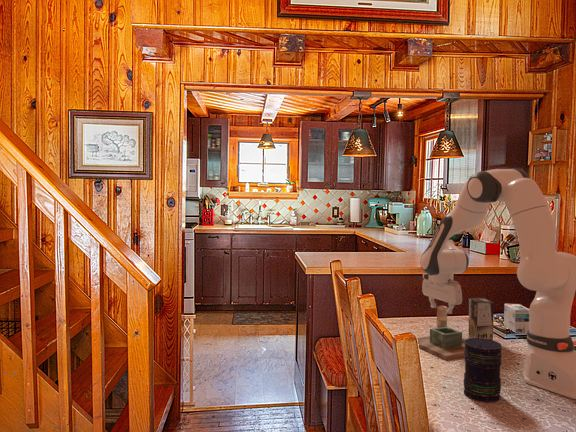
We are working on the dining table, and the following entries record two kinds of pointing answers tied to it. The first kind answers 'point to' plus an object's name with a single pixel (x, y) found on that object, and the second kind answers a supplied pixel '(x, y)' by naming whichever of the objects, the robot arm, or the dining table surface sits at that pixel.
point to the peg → (441, 316)
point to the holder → (443, 343)
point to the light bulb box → (516, 318)
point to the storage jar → (482, 369)
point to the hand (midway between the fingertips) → (441, 310)
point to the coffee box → (481, 318)
